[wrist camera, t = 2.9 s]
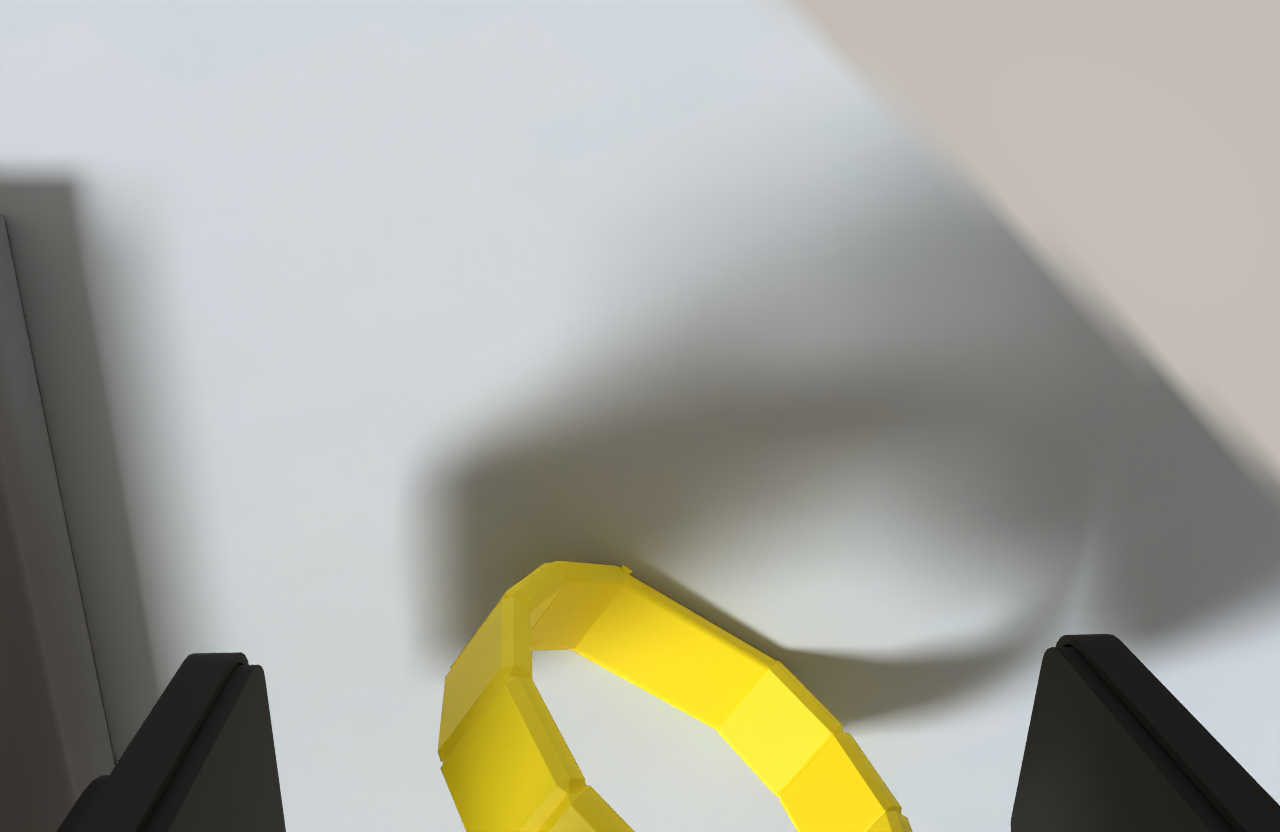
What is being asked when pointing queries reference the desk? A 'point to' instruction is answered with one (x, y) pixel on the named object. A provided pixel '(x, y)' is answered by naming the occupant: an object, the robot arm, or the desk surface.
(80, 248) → the desk surface
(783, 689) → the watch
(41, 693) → the frame
